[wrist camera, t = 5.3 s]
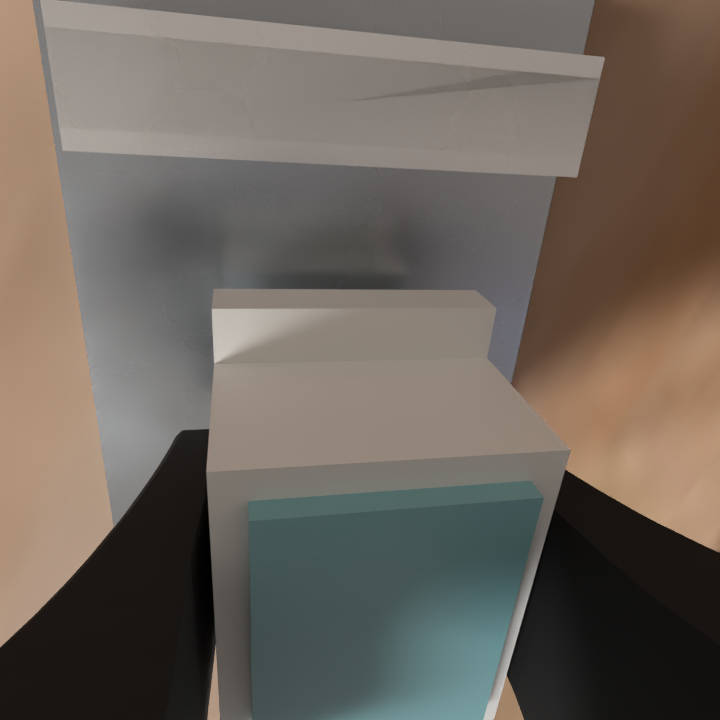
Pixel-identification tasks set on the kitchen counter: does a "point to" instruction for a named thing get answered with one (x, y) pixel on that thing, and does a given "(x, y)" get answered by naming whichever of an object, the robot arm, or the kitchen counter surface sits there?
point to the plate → (284, 228)
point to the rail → (312, 94)
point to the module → (369, 505)
